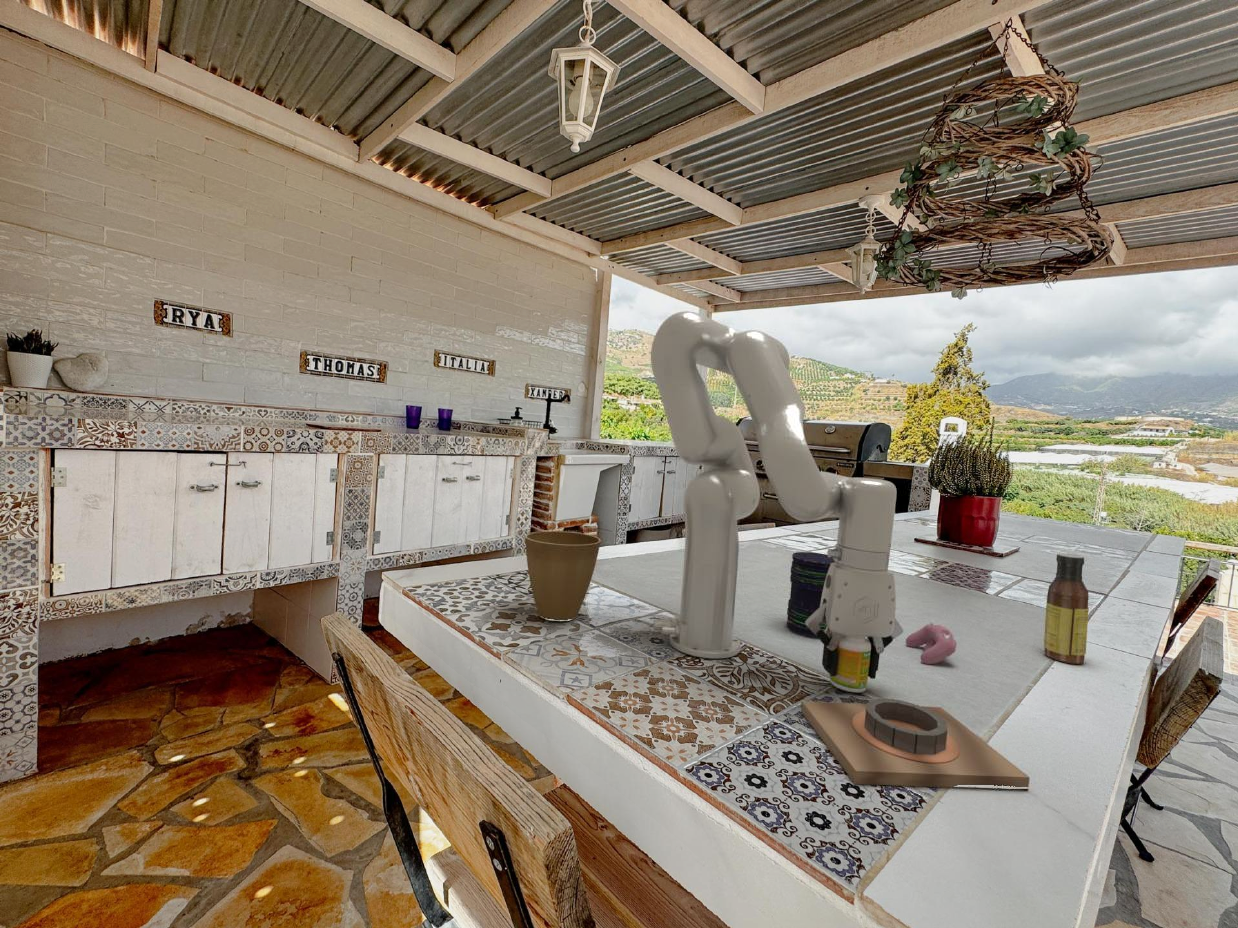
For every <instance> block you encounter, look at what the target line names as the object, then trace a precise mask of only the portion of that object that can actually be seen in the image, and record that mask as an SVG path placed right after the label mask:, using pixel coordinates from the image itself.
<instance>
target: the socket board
mask: <svg viewBox="0 0 1238 928" xmlns="http://www.w3.org/2000/svg"><path fill="white" fill-rule="evenodd" d="M800 713H801V714H802V715H803V716H804V717H805V719H806V720H807V722H808V723H809V724H810V726H811V727H812V728H813V730H814V731H815V733H816V734H817V736H818V737H820V739H821V740H822V742H823V743H824V745H825V747H827V748H828V750H829V751H830V752H831V754H832V755H833V757H834V758H835V759H836V761H837V762H838V763H839V765H840V766H841V768H843V770H844V771H845V773H846V774H847V775H848V777H849V779H850V780H851V781H852V782H853V783H854V785H869V786H871V785H872V786H874V785H875V786H877V785H878V786H897V787H898V786H900V787H901V786H903V787H926V788H927V787H929V788H952V787H954V786H957V785H994V786H996V785H997V786H1002V785H1003V786H1010V787H1011V786H1013V787H1014V786H1015V787H1030V776H1029V775H1028V774H1026V773H1025V772H1023V770H1021V769H1020V768H1018V767H1017V766H1016V765H1015V764H1013V763H1012V762H1011V761H1010V760H1008V758H1006V757H1005V756H1003V755H1002V754H1001V753H999V751H997V750H996V749H994V748H993V747H992V746H991V745H989V744H988V743H987V742H986V741H984V740H983V739H982V738H981V737H979V736H978V735H977V734H975V732H974V731H971V729H969V728H968V727H967V726H965V725H964V724H963V723H962V722H960V721H959V720H958V719H957V718H955V717H954V716H953V715H951V714H950V713H949V712H947V711H946V709H944V708H943V707H942V706H924V705H923V706H922V705H918V704H916V703H913V702H907V701H904V700H900V699H895V698H875V699H872V700H870V701H867V702H866V703H851V702H850V703H849V702H830V701H829V702H825V701H824V702H823V701H809V700H808V701H801V712H800Z"/></svg>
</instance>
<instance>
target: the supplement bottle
mask: <svg viewBox="0 0 1238 928" xmlns="http://www.w3.org/2000/svg"><path fill="white" fill-rule="evenodd" d="M836 650H837V651H838V652H839V657H838V666H837V674H836V675H835V676H831V675H830V674H829V682H830V683H831V685H833V686H834V687H835V688H838V689H840V690H842V691H845V692H848V693H849V692H850V693H863V692H865V691H866V690H867V688H868V687H867V686H868V679H869V676H868V672H869V663H870V653H871V643H870V642H869V641H868V640H867V638H866V636H851V635H841V638H840V640H839V642H838V644H837V646H836Z"/></svg>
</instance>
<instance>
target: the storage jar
mask: <svg viewBox="0 0 1238 928" xmlns="http://www.w3.org/2000/svg"><path fill="white" fill-rule="evenodd" d="M791 557H792V560H791V566H790V576H789V579H790V594H789V595H790V597H789V599H788V602H787V610H786V615H787V618H786V620H787V622H786V629H787V628H788V629H789V630H790V631H789V630H788V629H787V630H788V631H789V632H791V631H792V632H791V633H792V634H795V635H797V636H801V637H804V638H808V639H813V640H820V639H819V638H818V637H817V636H816V635H815V633H814V632H813V631H812V630H811V629H810V628H809V627H808V626H807V625H806V624H805V621H806V620H807V619H808V618H809V617H810V616H811V615H812V614H813V613H814V612H815V611H816V610H817V609H818V608H819V607H820V604H821V597H822V592H823V588H824V583H825V580H826V576H827V573H828V570H829V567H830V565H831V563H835V561H834V559H833V558H829V557H828V555H827V554H825V553H820V552H819V553H818V552H808V551H805V552H804V551H800V552H798V551H797V552H794V553H792V556H791ZM819 627H820V628H821V629H822V630H823V631H824V632H825V629H826V627H827V625H825V624H823V623H822V622H820V624H819Z"/></svg>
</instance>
